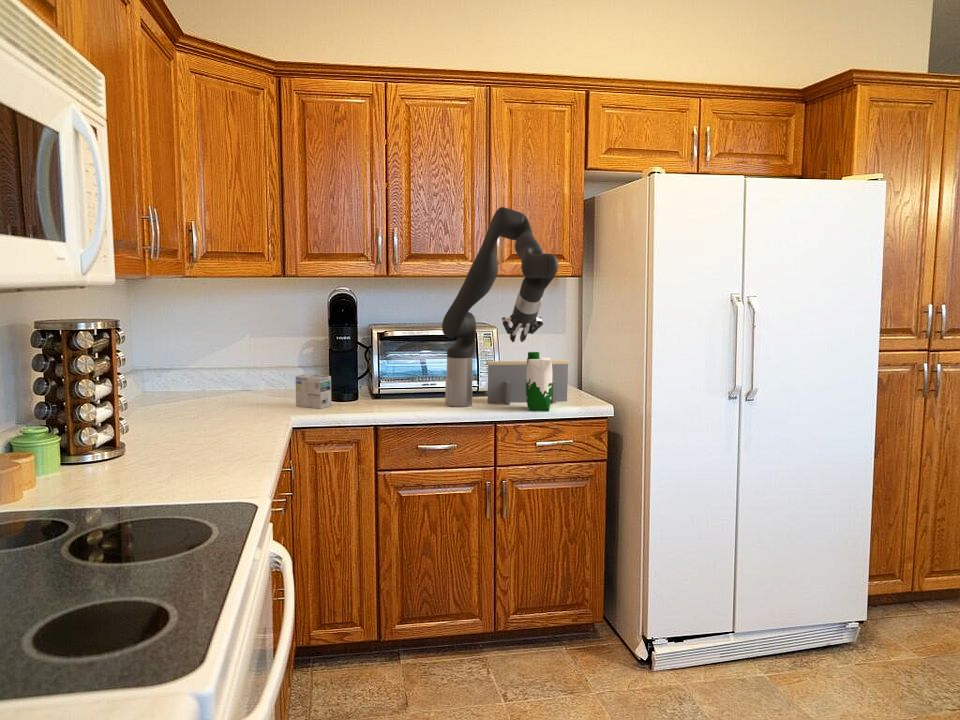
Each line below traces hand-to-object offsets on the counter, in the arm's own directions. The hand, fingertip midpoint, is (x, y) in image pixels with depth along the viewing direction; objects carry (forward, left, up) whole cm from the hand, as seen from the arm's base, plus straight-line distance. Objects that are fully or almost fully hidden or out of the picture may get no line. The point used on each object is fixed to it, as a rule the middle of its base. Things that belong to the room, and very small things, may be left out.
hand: (516, 339), depth 236 cm
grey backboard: (+12, +26, -26) cm, 39 cm away
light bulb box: (-65, +30, -26) cm, 76 cm away
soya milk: (+12, +14, -26) cm, 32 cm away
